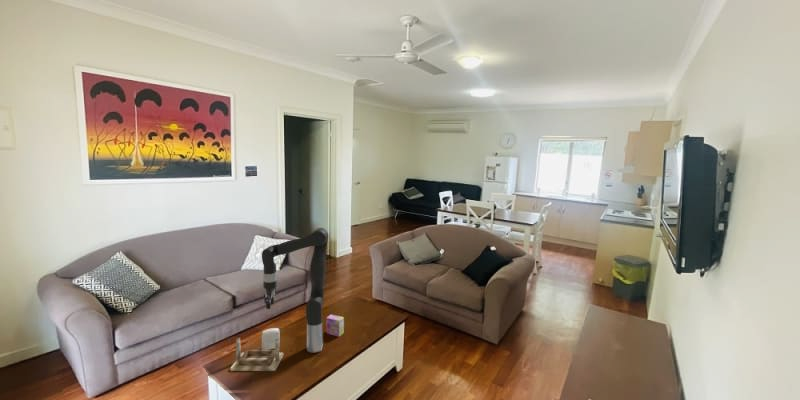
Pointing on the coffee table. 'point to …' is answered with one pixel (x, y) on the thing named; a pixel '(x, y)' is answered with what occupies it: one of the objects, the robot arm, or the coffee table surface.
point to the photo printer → (270, 338)
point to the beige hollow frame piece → (256, 359)
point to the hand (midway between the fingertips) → (270, 306)
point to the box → (335, 325)
